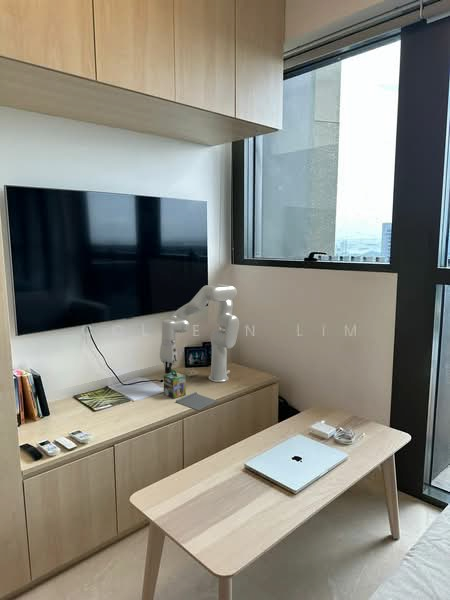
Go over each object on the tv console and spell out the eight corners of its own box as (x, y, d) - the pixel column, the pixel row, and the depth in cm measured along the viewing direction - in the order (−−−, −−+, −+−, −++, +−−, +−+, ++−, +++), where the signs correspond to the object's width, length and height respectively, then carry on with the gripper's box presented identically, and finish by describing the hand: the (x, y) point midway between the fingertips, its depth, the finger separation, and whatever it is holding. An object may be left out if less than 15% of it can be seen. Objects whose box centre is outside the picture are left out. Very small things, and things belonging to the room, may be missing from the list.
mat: (195, 393, 228) (195, 391, 228) (217, 401, 219) (217, 399, 219) (176, 402, 215) (176, 400, 215) (198, 410, 206) (198, 408, 206)
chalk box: (186, 395, 226) (186, 369, 223) (172, 399, 219) (173, 373, 217) (175, 390, 232) (176, 365, 230) (162, 394, 226) (163, 369, 224)
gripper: (182, 343, 224) (182, 374, 227) (163, 338, 233) (163, 368, 236) (173, 345, 218) (172, 377, 221) (154, 340, 227) (154, 371, 230)
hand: (168, 373), depth 228 cm, fingers closed
